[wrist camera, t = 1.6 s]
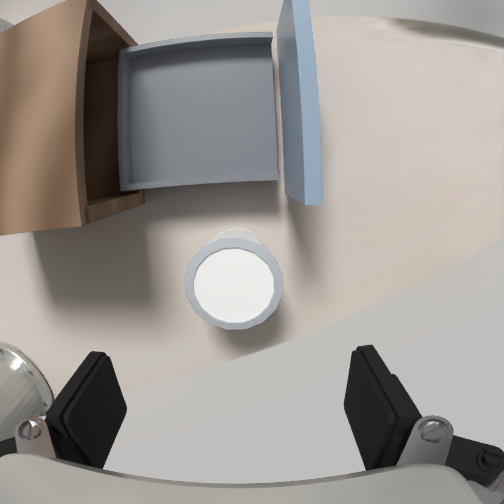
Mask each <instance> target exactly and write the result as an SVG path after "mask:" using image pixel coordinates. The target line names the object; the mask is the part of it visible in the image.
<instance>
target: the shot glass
mask: <svg viewBox="0 0 504 504" xmlns="http://www.w3.org/2000/svg"><path fill="white" fill-rule="evenodd" d="M184 282H185V290H186V297H187V299H188V301H189V303H190V304H191V306H192V308H193V309H194V311H195V313H196V314H198V315H199V316H200V317H201V318H203V319H204V320H205V321H206V322H208V323H209V324H211V325H214V326H217V327H220V328H223V329H226V330H236V329H247V328H250V327H252V326H255V325H257V324H260V323H262V322H263V321H264V320H266V319H267V318H268V317H269V316H270V315H271V314H272V313H273V312H274V311H275V310H276V308H277V306H278V303H279V301H280V299H281V297H282V294H283V274H282V272H281V270H280V268H279V266H278V263H277V261H276V259H275V257H274V256H273V254H272V253H271V252H270V250H269V249H268V248H267V246H266V245H265V244H264V242H263V241H262V240H261V239H260V238H259V237H258V236H257V235H256V234H254V233H253V232H251V231H248V230H246V229H243V228H228V229H226V230H224V231H222V232H220V233H218V234H216V235H215V236H214V237H213V238H212V239H211V240H210V241H208V242H207V243H206V244H205V245H204V246H203V247H202V248H201V249H200V250H199V251H198V253H197V254H196V255H195V256H194V257H193V258H192V259H191V260H190V262H189V265H188V268H187V272H186V275H185V278H184Z"/></svg>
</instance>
